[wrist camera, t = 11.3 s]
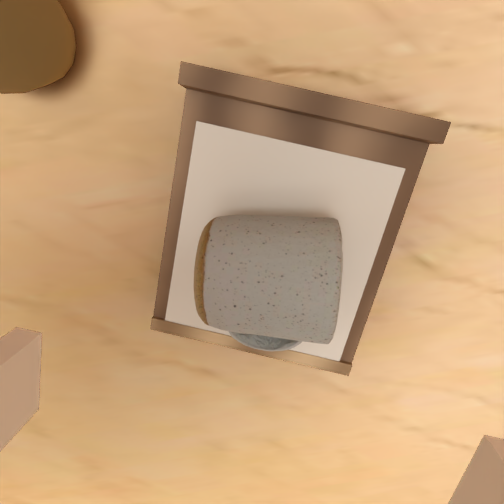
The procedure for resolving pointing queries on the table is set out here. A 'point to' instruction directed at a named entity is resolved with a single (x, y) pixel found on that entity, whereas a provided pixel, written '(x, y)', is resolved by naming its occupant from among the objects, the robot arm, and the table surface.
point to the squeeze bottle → (34, 44)
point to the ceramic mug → (270, 279)
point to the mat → (282, 210)
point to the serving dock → (304, 133)
